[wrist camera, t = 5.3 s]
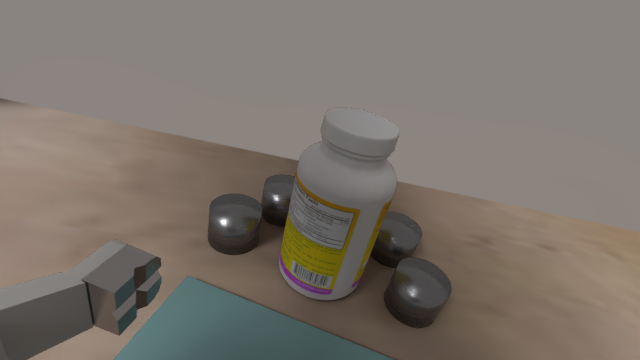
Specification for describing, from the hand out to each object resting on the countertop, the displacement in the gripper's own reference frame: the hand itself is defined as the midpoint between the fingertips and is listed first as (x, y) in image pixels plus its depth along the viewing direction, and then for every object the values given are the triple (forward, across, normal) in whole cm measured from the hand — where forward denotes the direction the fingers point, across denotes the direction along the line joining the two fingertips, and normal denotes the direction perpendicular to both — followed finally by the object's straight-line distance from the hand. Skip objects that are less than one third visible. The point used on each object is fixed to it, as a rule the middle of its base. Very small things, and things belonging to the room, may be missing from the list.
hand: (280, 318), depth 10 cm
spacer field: (+17, 0, -11) cm, 20 cm away
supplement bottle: (+14, 0, -11) cm, 17 cm away
